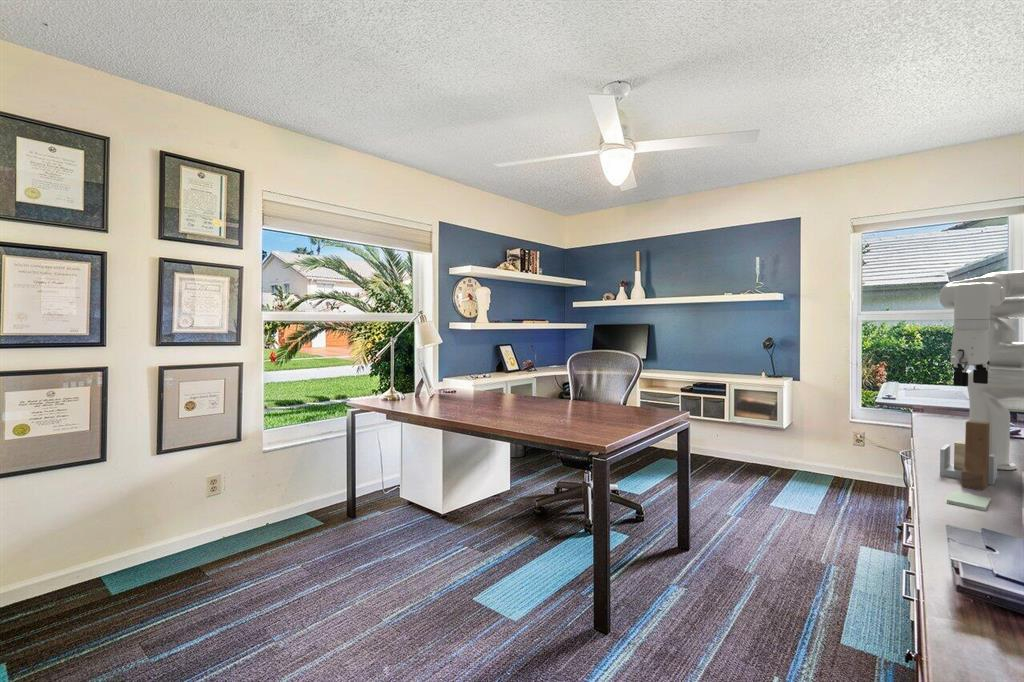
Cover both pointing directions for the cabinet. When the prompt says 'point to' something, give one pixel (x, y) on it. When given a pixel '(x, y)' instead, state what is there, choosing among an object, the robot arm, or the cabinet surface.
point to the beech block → (959, 455)
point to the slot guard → (949, 470)
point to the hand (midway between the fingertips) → (970, 384)
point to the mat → (969, 500)
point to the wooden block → (976, 455)
